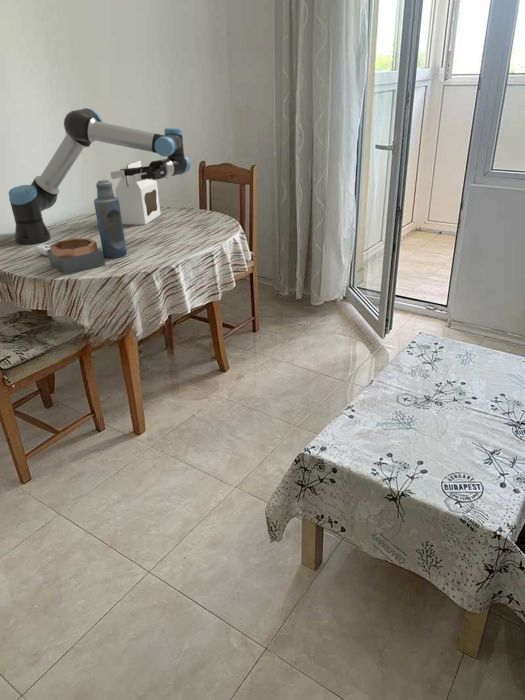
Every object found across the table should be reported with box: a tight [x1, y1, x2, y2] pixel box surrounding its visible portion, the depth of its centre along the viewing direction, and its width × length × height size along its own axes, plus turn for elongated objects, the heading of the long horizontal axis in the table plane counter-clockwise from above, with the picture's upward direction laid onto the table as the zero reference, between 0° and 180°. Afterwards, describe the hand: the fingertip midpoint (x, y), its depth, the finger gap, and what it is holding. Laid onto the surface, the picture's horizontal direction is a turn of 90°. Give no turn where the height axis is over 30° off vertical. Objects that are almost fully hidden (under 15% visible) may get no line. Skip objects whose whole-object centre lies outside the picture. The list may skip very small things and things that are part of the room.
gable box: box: [115, 159, 161, 226], centre depth 266 cm, size 22×13×28 cm, turn 169°
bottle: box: [93, 179, 128, 259], centre depth 212 cm, size 10×10×30 cm
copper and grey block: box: [46, 237, 106, 276], centre depth 206 cm, size 16×16×8 cm
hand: (122, 177), depth 212 cm, fingers open, 13 cm apart
